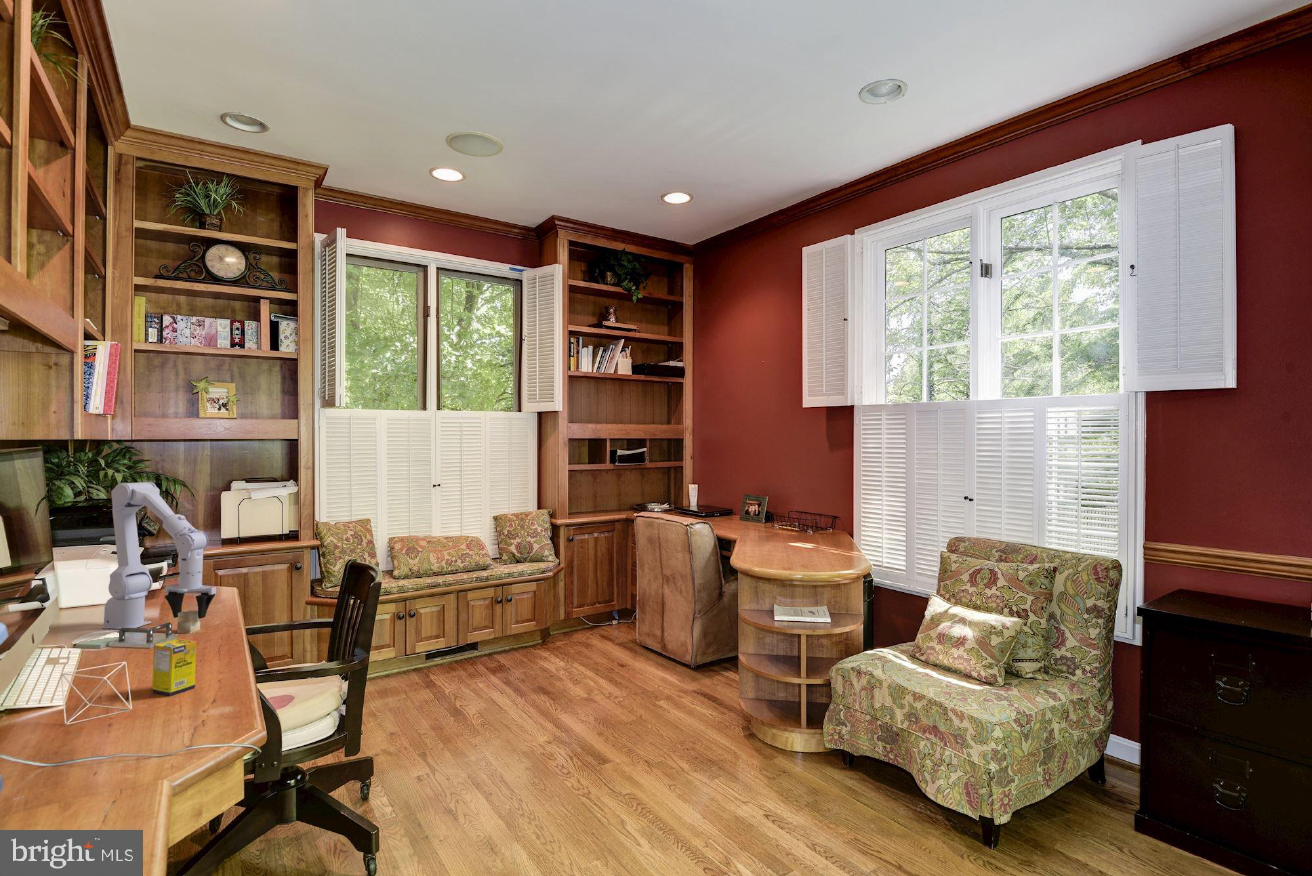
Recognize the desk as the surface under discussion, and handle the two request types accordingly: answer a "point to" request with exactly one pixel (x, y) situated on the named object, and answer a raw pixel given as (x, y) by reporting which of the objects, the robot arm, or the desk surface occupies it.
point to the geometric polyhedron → (94, 690)
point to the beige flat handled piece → (144, 637)
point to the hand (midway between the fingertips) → (189, 617)
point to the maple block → (188, 621)
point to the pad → (100, 642)
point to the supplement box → (174, 666)
